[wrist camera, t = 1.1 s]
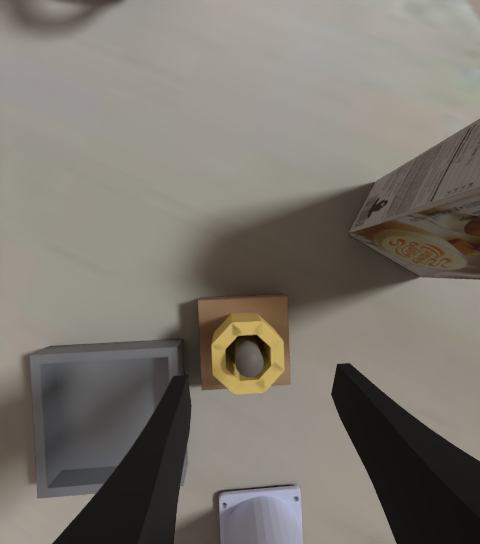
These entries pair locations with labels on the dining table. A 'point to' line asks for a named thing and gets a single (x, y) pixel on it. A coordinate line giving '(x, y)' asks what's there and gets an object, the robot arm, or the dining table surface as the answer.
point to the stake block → (244, 346)
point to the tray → (95, 408)
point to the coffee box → (429, 210)
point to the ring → (225, 363)
